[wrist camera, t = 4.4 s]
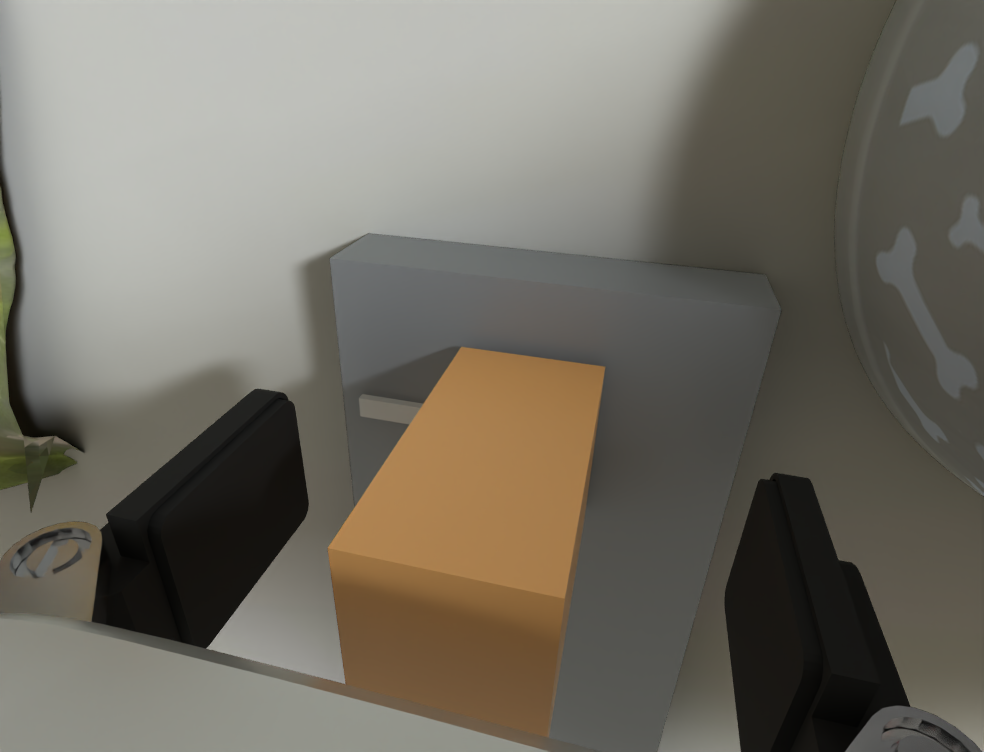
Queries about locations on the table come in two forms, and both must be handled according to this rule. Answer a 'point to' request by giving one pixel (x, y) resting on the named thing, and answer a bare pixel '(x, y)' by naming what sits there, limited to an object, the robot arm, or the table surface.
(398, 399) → the fader console
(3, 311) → the prepared meal
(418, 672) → the fader knob
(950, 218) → the dog bowl
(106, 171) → the table surface
